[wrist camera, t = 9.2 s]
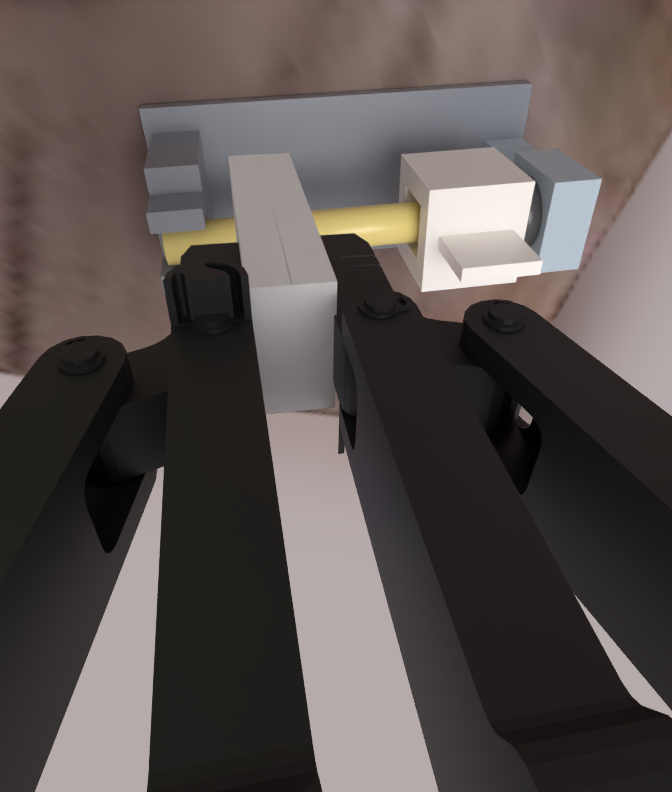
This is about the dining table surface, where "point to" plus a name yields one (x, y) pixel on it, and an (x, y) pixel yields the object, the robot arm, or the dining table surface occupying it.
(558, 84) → the dining table surface
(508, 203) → the sleeve
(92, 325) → the dining table surface
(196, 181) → the grey rod stand
